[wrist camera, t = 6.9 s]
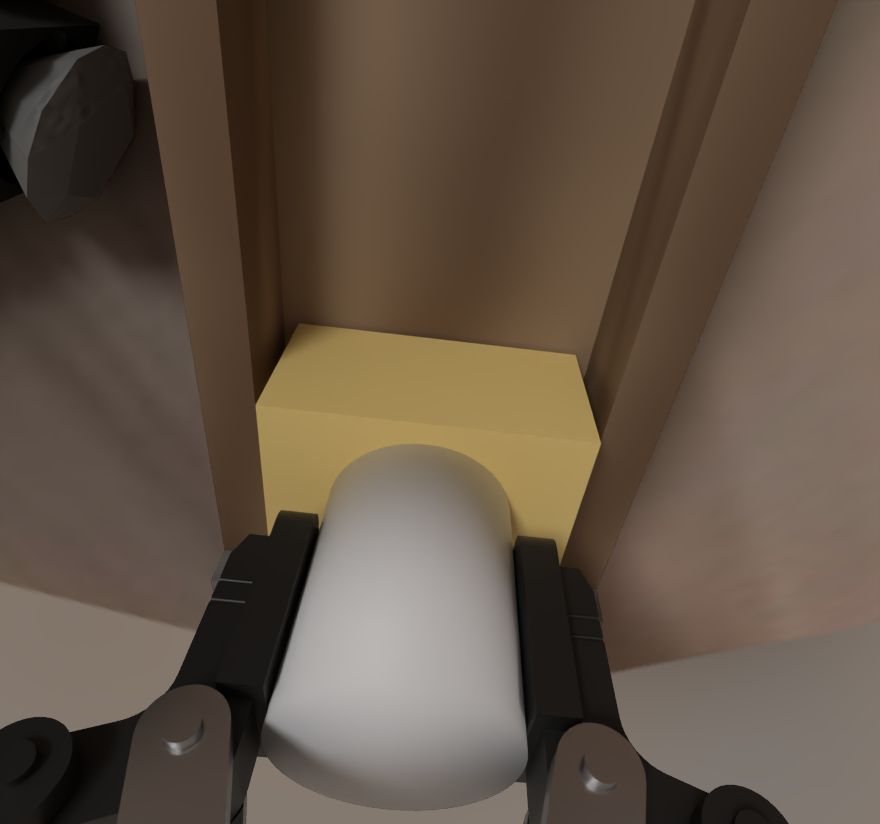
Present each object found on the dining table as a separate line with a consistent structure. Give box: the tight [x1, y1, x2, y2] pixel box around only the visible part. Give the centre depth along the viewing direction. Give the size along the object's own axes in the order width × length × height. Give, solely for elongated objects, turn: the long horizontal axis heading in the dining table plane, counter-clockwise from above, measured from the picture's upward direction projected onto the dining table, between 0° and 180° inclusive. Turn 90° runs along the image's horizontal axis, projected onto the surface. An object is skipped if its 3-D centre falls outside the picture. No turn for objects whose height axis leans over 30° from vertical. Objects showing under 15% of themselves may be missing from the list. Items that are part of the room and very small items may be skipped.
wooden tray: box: [135, 0, 838, 625], centre depth 11 cm, size 10×22×5 cm, turn 174°
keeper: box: [256, 323, 601, 811], centre depth 12 cm, size 7×5×8 cm
